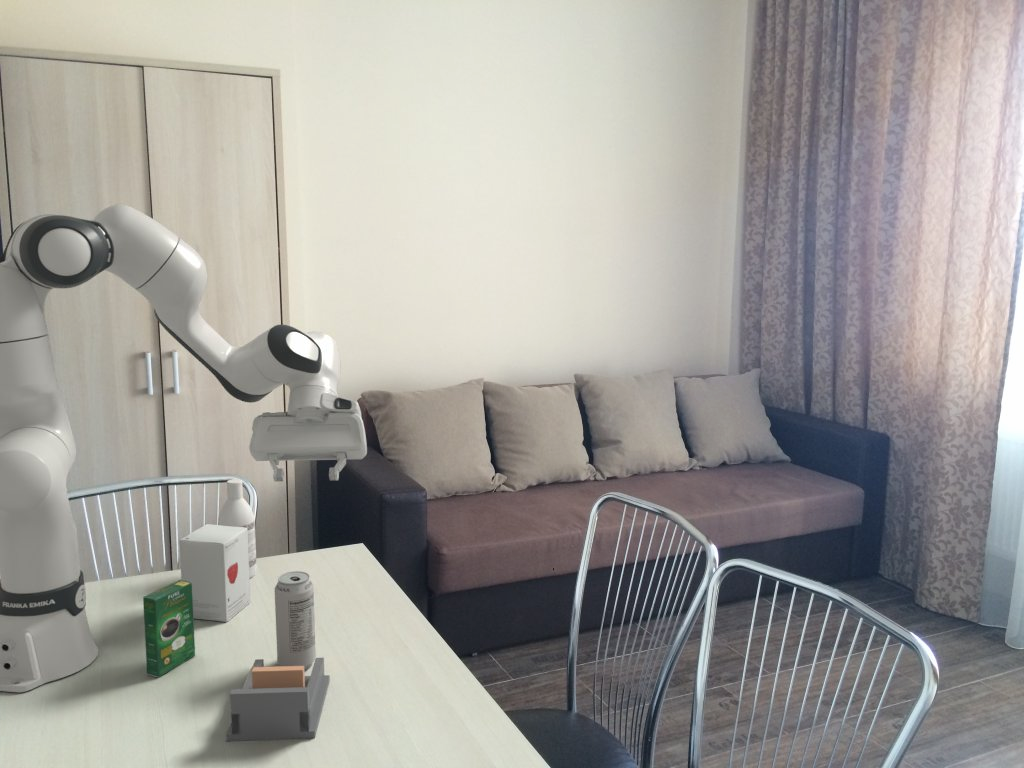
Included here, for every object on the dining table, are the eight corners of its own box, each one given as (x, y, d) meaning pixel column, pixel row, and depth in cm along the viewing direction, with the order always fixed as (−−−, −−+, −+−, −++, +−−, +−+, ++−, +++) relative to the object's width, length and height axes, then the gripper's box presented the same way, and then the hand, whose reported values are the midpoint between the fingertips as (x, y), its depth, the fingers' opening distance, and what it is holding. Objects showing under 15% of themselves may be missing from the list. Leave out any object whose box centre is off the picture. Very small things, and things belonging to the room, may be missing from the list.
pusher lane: (226, 740, 115) (223, 694, 114) (251, 683, 130) (249, 641, 129) (314, 737, 116) (313, 691, 115) (329, 681, 131) (328, 639, 130)
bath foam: (215, 574, 171) (210, 480, 168) (247, 565, 176) (243, 473, 172) (230, 585, 166) (225, 488, 163) (262, 575, 171) (258, 481, 167)
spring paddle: (253, 707, 121) (251, 671, 120) (255, 703, 122) (253, 667, 121) (304, 706, 122) (302, 670, 121) (305, 701, 123) (304, 665, 122)
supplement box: (227, 623, 150) (223, 543, 147) (182, 618, 152) (177, 539, 149) (252, 602, 159) (249, 526, 156) (209, 597, 160) (205, 522, 158)
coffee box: (184, 651, 140) (179, 577, 137) (197, 655, 139) (193, 580, 136) (145, 674, 132) (140, 596, 130) (159, 678, 131) (154, 600, 129)
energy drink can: (304, 651, 140) (301, 566, 138) (322, 665, 136) (320, 577, 133) (270, 663, 136) (267, 576, 133) (289, 678, 132) (285, 588, 129)
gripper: (250, 403, 149) (240, 471, 142) (366, 401, 151) (363, 469, 143) (257, 422, 155) (248, 489, 147) (369, 420, 156) (366, 486, 148)
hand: (305, 479), depth 145 cm, fingers open, 8 cm apart
